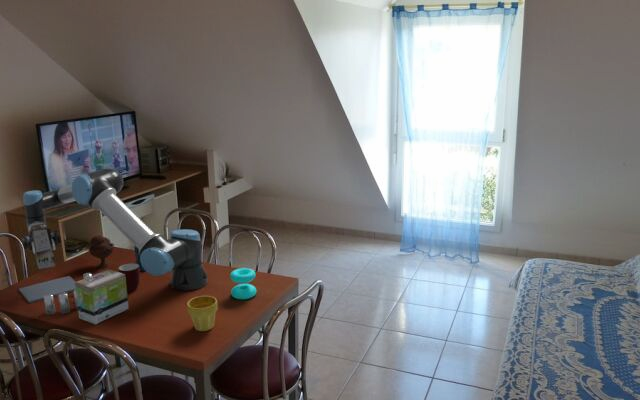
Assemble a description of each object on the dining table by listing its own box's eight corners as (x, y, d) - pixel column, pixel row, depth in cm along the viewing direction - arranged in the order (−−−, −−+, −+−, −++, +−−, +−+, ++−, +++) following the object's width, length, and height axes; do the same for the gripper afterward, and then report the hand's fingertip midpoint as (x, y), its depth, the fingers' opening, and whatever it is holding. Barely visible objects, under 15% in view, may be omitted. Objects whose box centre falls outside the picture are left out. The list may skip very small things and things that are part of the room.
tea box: (96, 325, 207) (91, 287, 203) (78, 319, 212) (73, 281, 208) (129, 309, 219) (125, 273, 215) (112, 303, 224) (108, 268, 220)
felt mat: (81, 288, 238) (81, 287, 237) (29, 303, 225) (29, 301, 225) (69, 277, 250) (69, 275, 249) (19, 290, 237) (18, 288, 237)
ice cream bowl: (111, 270, 256) (107, 238, 252) (86, 270, 257) (82, 238, 253) (120, 261, 267) (116, 230, 263) (96, 261, 267) (92, 231, 263)
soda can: (137, 266, 261) (134, 241, 258) (153, 264, 262) (150, 239, 259) (136, 271, 254) (133, 246, 251) (152, 270, 256) (149, 244, 253)
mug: (124, 297, 229) (121, 274, 226) (111, 293, 233) (108, 270, 230) (145, 288, 237) (143, 265, 234) (133, 284, 241) (130, 261, 239)
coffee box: (56, 266, 232) (50, 228, 228) (38, 269, 229) (32, 231, 224) (53, 259, 239) (47, 222, 235) (36, 262, 236) (30, 225, 232)
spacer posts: (106, 301, 226) (104, 284, 224) (49, 317, 213) (47, 300, 211) (92, 287, 238) (90, 272, 237) (37, 303, 225) (34, 286, 224)
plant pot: (186, 334, 199) (184, 308, 197) (192, 320, 209) (190, 295, 207) (216, 333, 199) (214, 308, 197) (221, 319, 209) (219, 295, 207)
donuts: (257, 275, 223) (231, 278, 221) (258, 298, 226) (232, 301, 224) (253, 265, 233) (228, 268, 230) (254, 288, 235) (230, 291, 233)
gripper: (64, 236, 252) (71, 252, 233) (14, 244, 243) (18, 262, 224) (62, 220, 250) (69, 235, 231) (12, 227, 241) (15, 243, 222)
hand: (44, 248), depth 228 cm, fingers closed on coffee box, 6 cm apart
